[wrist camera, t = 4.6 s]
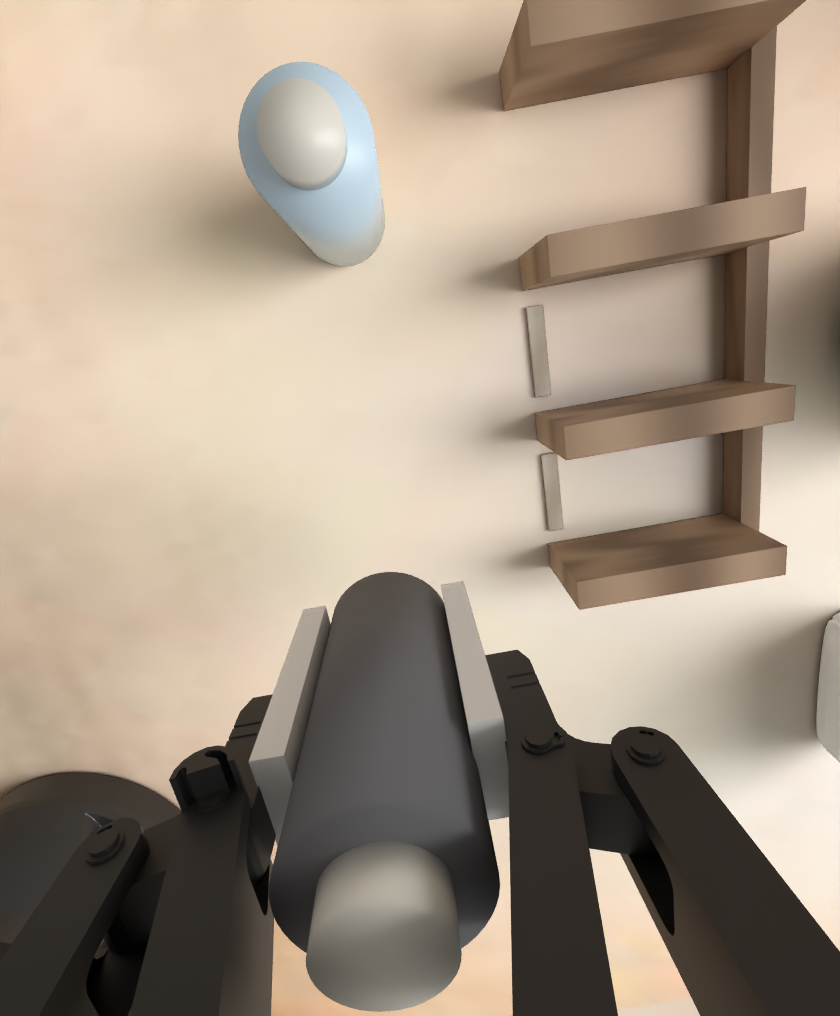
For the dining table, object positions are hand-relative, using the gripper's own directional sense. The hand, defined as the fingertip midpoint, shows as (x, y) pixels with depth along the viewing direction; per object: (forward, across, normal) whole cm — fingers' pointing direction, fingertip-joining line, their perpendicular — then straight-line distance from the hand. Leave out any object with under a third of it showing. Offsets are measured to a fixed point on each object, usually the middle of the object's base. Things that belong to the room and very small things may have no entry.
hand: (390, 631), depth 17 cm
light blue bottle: (+11, 0, +15) cm, 19 cm away
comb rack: (+11, +14, +8) cm, 20 cm away
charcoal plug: (0, 0, 0) cm, 0 cm away
